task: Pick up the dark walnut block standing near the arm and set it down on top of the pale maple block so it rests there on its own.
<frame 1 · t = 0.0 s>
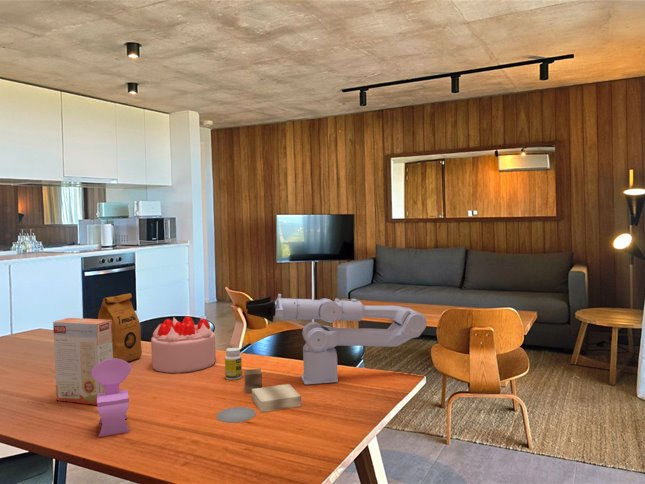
hand: (246, 307, 142), 22 cm above the table, tool horizontal, fingers open, 7 cm apart
supplement bottle: (233, 378, 150), on the table
maple block: (276, 404, 129), on the table
walnut block: (253, 390, 139), on the table
toy chair: (113, 428, 115), on the table
cracker box: (85, 400, 134), on the table
coffee package: (121, 362, 170), on the table
cake: (184, 365, 165), on the table
felt coaster: (236, 416, 121), on the table
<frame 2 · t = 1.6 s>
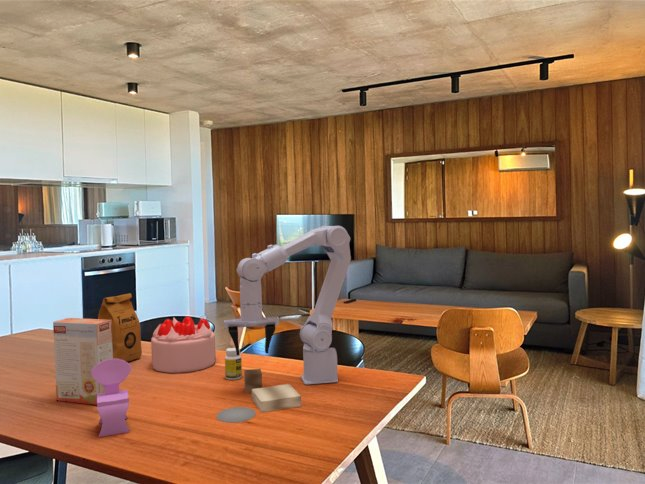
hand: (252, 353, 139), 10 cm above the table, tool pointing down, fingers open, 7 cm apart
nothing on the table moved.
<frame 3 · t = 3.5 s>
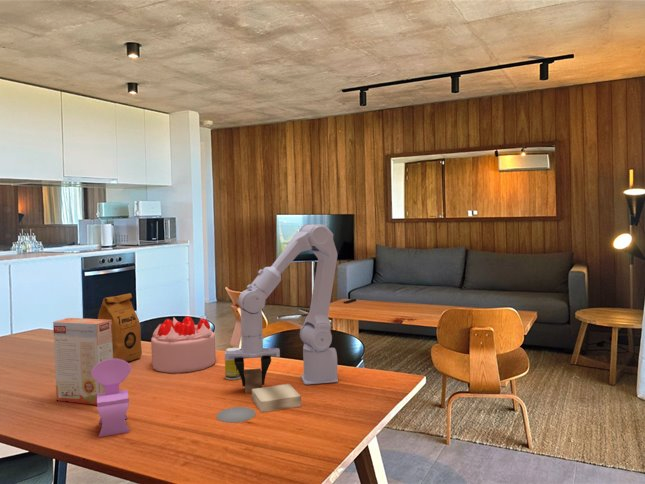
hand: (253, 384, 139), 1 cm above the table, tool pointing down, fingers closed on walnut block, 4 cm apart
walnut block: (253, 389, 139), on the table, touching gripper
everything else where it was.
when the fingers open (5 cm above the table, at t = 7.1 s): walnut block drops 1 cm, resting on maple block.
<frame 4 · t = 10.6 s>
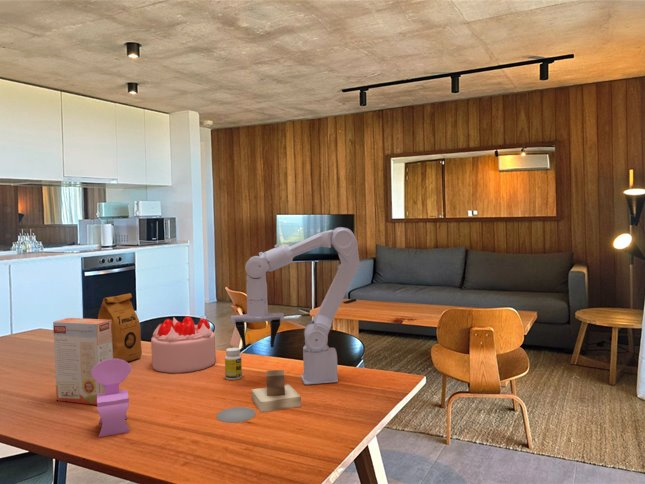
hand: (258, 347, 145), 10 cm above the table, tool pointing down, fingers open, 7 cm apart
maple block: (275, 404, 129), on the table, touching walnut block
walnut block: (275, 392, 129), point 2 cm above the table, touching maple block
everything else where it was.
at the end: walnut block inside the target area on the maple block (0.2 cm from its centre), point 3.0 cm above the maple block's base; walnut block tilted 1°; the gripper is holding nothing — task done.
